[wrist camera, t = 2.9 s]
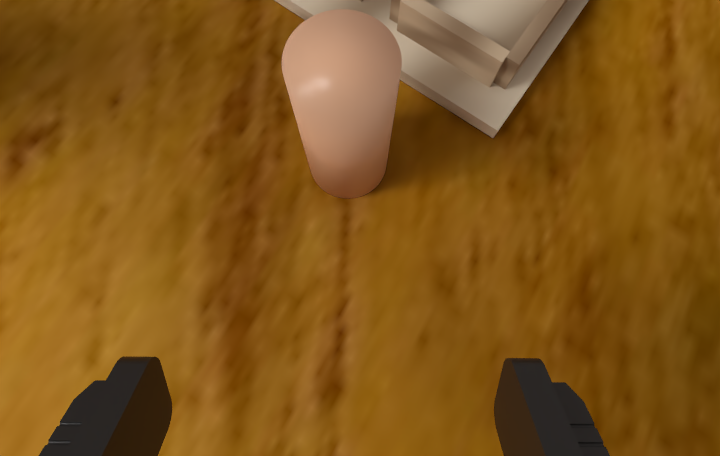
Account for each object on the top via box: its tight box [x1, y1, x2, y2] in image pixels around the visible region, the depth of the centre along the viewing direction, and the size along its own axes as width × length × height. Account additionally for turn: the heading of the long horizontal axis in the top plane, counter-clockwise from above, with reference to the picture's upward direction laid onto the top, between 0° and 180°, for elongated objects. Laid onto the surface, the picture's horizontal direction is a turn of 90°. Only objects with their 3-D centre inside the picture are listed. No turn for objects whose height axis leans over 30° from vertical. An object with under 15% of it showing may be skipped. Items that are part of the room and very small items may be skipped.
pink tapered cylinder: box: [282, 9, 402, 199], centre depth 22 cm, size 4×4×10 cm
